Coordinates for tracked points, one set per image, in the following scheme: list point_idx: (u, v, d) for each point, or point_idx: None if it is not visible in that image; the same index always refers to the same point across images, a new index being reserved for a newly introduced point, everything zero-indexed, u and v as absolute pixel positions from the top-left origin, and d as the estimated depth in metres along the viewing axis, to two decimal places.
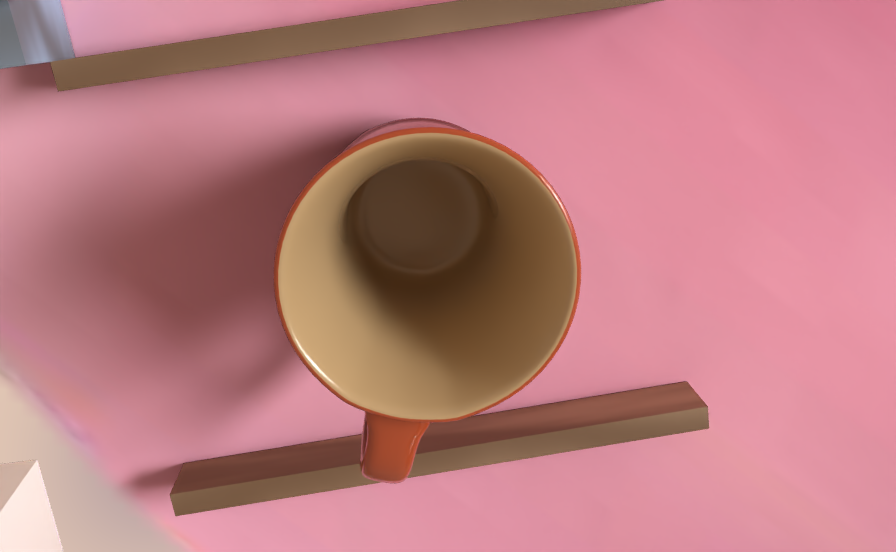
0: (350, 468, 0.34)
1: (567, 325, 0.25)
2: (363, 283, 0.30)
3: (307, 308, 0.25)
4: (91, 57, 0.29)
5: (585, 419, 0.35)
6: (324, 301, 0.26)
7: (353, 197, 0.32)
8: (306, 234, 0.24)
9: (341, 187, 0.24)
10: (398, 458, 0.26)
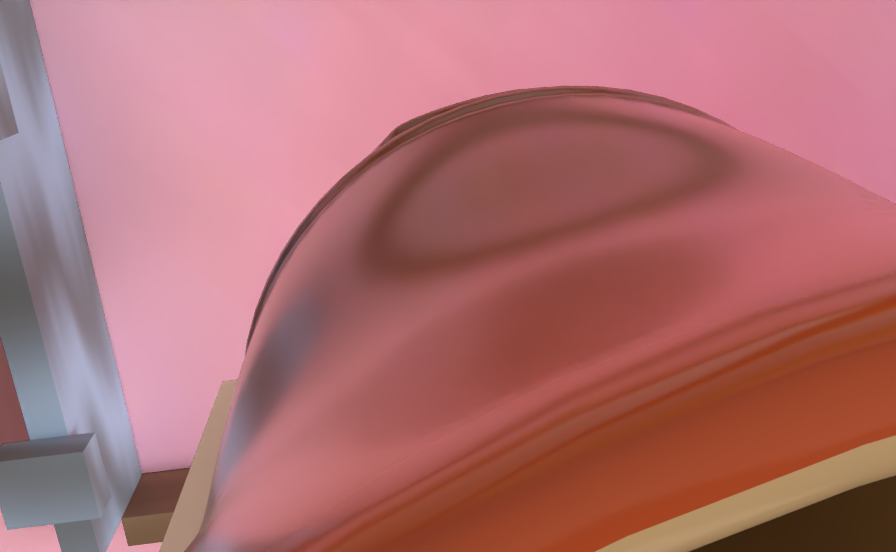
0: None
1: None
2: None
3: None
4: (168, 514, 0.26)
5: None
6: None
7: None
8: None
9: None
10: None
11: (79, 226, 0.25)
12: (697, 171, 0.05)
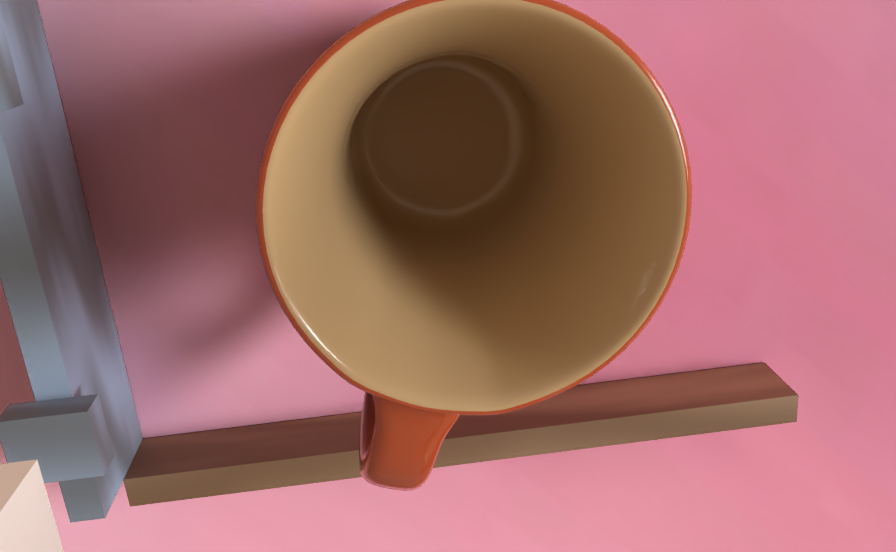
0: None
1: (664, 290, 0.18)
2: (370, 223, 0.23)
3: (302, 249, 0.18)
4: (168, 475, 0.27)
5: None
6: (324, 242, 0.19)
7: (359, 111, 0.24)
8: (306, 142, 0.17)
9: (358, 77, 0.17)
10: (415, 460, 0.19)
11: (80, 197, 0.26)
12: None
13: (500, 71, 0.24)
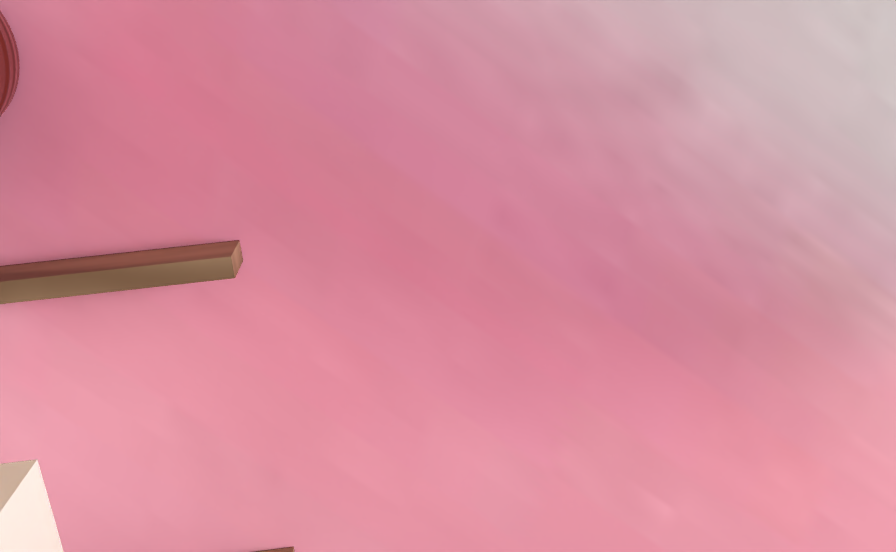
0: None
1: None
2: None
3: None
4: None
5: None
6: None
7: None
8: None
9: None
10: None
11: None
12: None
13: None
